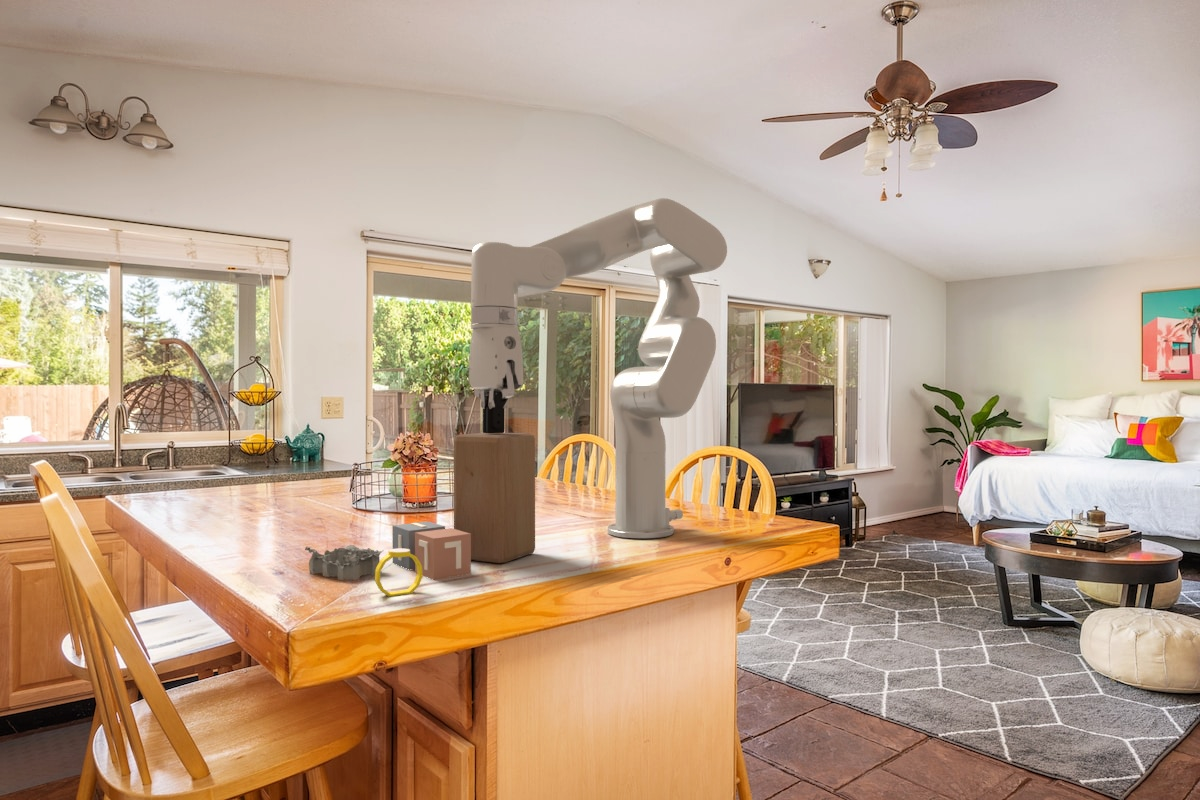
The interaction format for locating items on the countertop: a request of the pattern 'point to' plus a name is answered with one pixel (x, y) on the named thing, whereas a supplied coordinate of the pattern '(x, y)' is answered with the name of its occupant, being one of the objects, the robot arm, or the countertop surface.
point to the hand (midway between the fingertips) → (493, 432)
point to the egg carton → (344, 562)
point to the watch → (398, 553)
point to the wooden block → (495, 494)
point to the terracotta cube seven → (443, 553)
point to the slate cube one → (409, 540)
